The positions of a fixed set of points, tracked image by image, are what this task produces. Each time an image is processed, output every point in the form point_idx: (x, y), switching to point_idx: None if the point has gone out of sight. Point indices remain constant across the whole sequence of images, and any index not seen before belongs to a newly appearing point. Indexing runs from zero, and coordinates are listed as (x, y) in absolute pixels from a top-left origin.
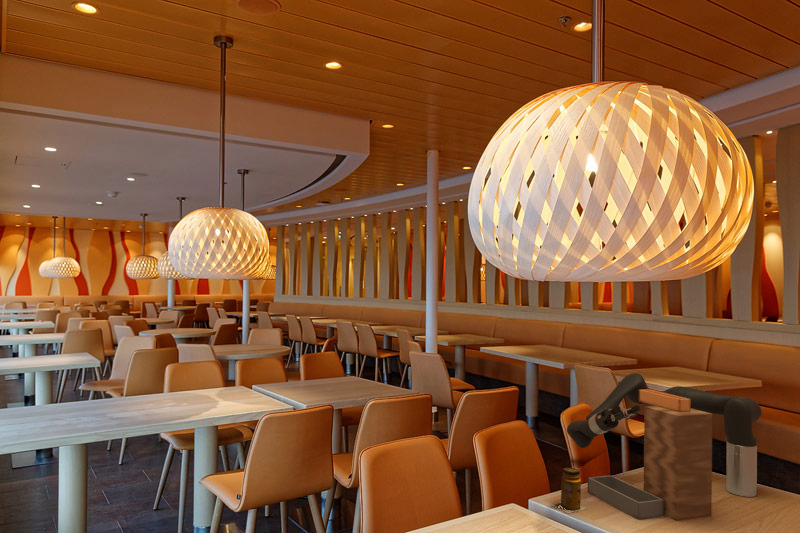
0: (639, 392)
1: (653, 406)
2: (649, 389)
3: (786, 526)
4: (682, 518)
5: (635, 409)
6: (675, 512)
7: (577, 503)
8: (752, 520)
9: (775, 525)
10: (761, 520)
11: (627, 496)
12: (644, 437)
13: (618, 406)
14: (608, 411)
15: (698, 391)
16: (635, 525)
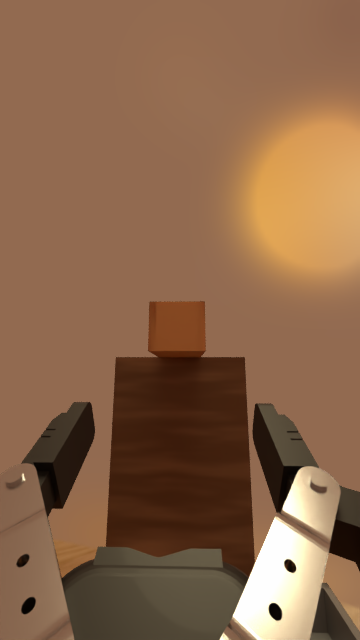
0: (204, 313)
1: (214, 357)
2: (152, 302)
3: (58, 540)
4: None
5: (80, 445)
6: None
7: None
8: (77, 565)
9: (69, 545)
10: (62, 561)
11: (350, 626)
12: (249, 459)
13: (267, 404)
14: (351, 497)
15: None
16: (349, 610)
